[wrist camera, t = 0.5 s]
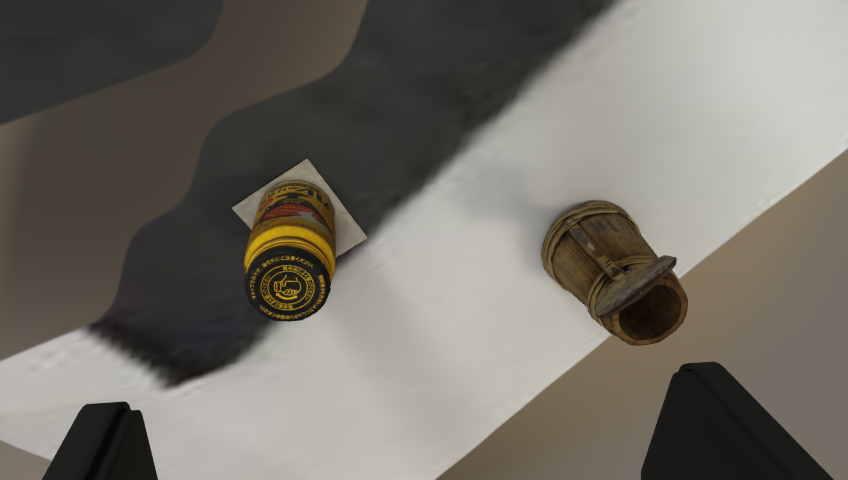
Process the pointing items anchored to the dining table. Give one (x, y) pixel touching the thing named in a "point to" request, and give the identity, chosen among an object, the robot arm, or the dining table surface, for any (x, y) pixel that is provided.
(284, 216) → the condiment
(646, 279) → the wooden mug
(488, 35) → the dining table surface
